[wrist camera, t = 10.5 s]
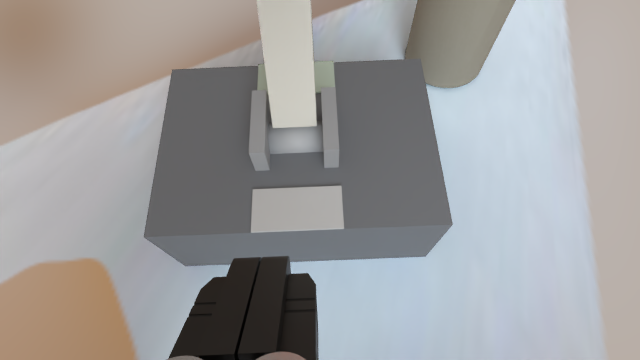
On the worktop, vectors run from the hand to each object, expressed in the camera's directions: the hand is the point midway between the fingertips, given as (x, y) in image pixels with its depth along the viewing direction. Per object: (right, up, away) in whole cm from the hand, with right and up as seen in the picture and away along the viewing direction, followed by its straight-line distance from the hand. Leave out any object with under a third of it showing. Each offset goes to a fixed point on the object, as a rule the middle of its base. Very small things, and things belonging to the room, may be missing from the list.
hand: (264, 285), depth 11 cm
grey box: (0, +3, +25) cm, 25 cm away
